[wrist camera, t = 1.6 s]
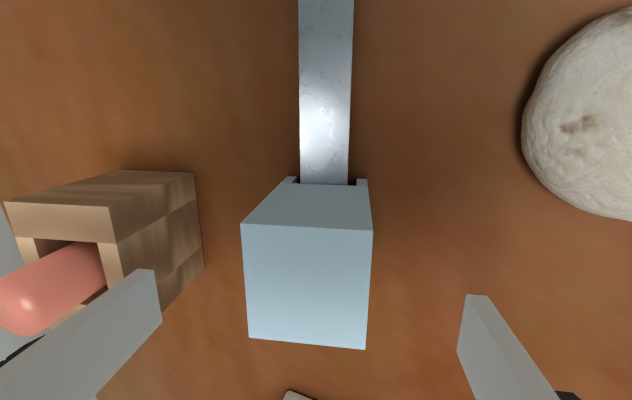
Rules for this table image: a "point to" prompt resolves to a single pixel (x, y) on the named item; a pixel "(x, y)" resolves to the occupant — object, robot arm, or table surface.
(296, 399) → the container
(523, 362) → the robot arm
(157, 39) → the table surface
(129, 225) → the wooden box
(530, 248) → the table surface
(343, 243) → the carriage
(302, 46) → the rail
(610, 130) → the stone
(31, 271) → the plunger
